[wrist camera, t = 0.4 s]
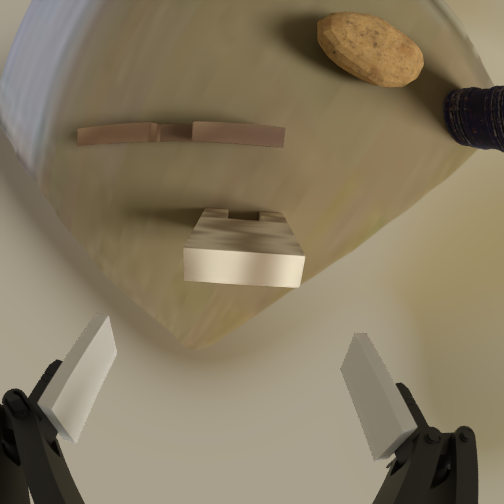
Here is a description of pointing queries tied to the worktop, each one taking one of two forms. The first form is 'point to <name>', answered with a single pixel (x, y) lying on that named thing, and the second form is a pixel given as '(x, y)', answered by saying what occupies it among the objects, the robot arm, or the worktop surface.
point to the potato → (370, 49)
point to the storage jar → (476, 117)
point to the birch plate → (243, 251)
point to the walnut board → (183, 133)
